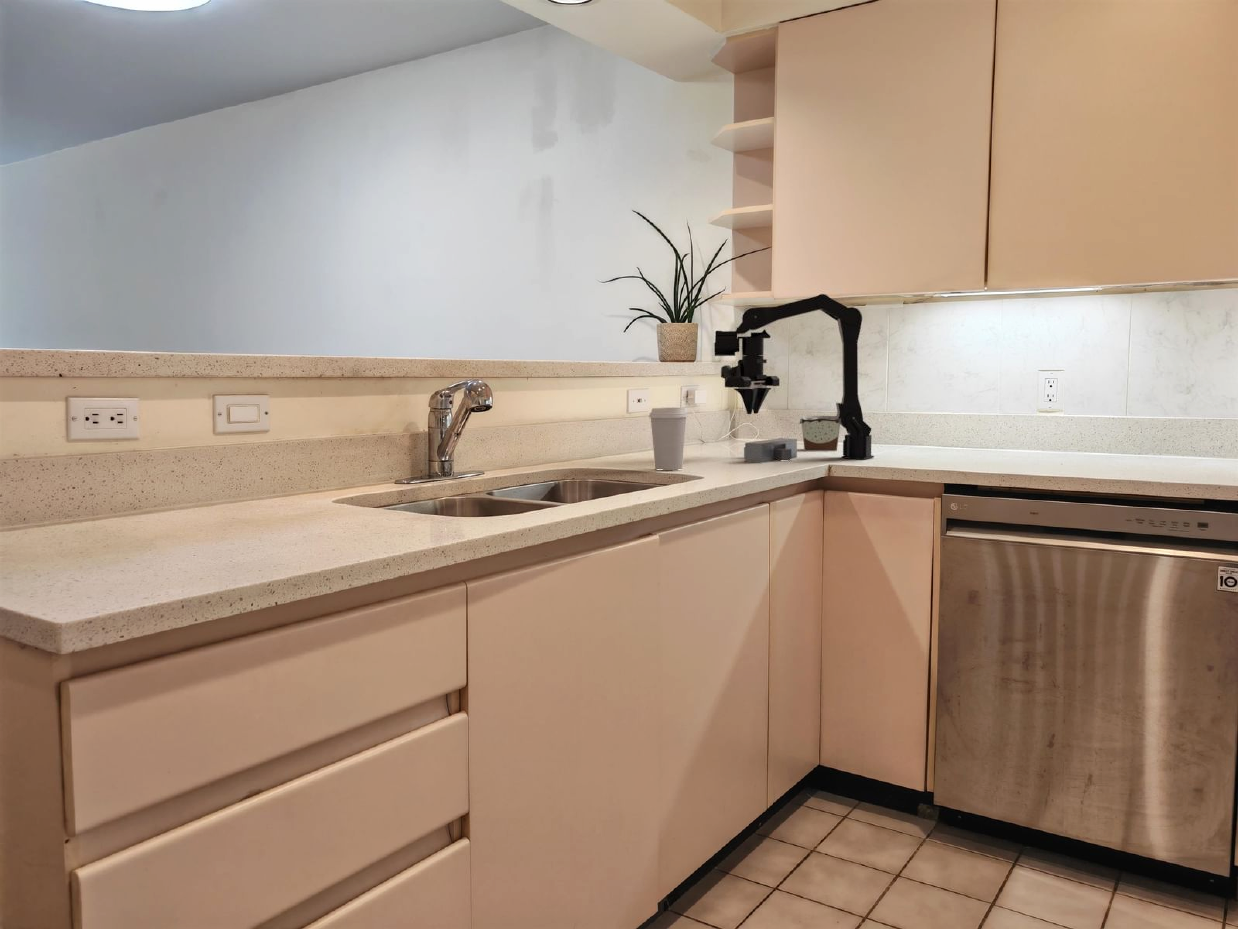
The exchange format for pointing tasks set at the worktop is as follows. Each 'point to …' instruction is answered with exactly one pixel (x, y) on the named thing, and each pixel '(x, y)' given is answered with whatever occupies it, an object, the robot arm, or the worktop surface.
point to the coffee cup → (668, 437)
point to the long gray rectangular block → (768, 449)
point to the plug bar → (780, 454)
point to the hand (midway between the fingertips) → (752, 413)
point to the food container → (820, 433)
